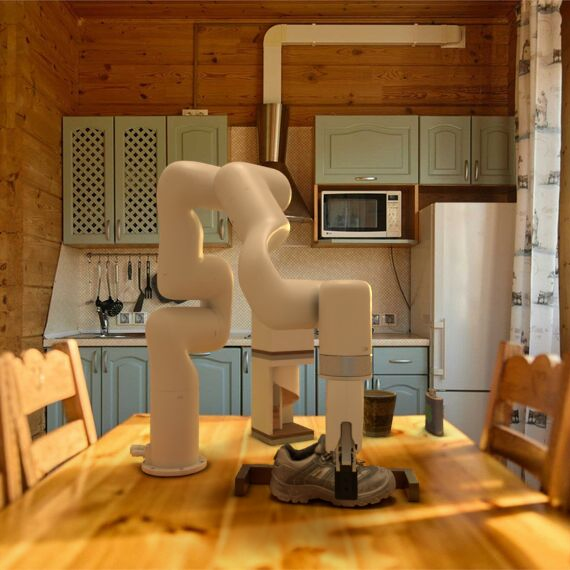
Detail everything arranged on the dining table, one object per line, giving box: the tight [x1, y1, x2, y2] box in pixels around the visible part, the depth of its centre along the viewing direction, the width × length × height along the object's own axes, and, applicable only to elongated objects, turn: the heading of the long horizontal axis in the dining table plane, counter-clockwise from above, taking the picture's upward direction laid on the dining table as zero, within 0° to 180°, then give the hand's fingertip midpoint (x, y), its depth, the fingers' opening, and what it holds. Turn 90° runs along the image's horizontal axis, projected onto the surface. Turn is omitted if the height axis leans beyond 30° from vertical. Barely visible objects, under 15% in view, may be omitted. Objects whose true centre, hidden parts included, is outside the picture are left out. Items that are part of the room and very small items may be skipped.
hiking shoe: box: [269, 433, 397, 508], centre depth 91 cm, size 9×21×12 cm
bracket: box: [234, 463, 420, 503], centre depth 94 cm, size 31×8×3 cm, turn 85°
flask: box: [424, 388, 445, 437], centre depth 135 cm, size 9×3×11 cm, turn 2°
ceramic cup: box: [363, 389, 398, 438], centre depth 132 cm, size 13×10×10 cm
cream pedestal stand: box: [250, 309, 315, 446], centre depth 130 cm, size 11×11×35 cm
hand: (346, 497), depth 76 cm, fingers closed
